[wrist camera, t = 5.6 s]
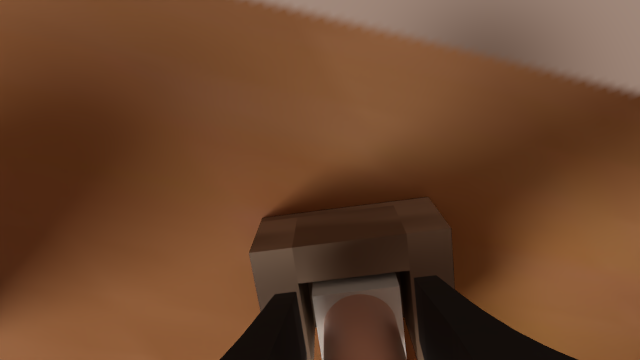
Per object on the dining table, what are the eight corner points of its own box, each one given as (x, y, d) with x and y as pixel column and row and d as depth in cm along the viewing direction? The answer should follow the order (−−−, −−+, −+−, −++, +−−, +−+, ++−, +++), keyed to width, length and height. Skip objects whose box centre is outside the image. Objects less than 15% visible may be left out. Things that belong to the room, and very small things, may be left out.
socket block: (436, 307, 17) (458, 358, 14) (282, 324, 17) (273, 377, 14) (428, 197, 15) (451, 228, 13) (262, 217, 16) (248, 252, 13)
